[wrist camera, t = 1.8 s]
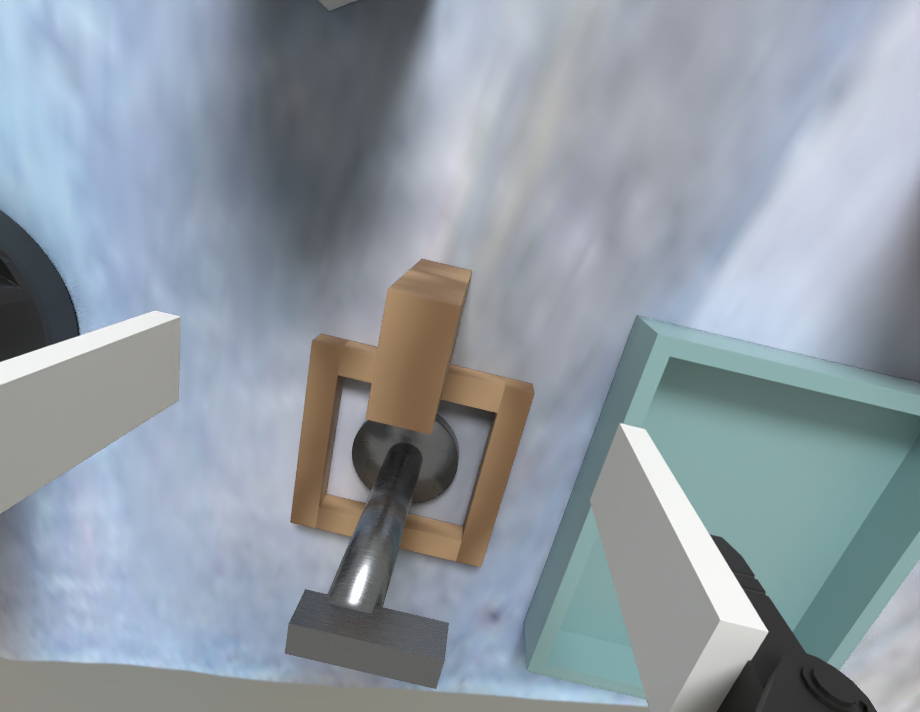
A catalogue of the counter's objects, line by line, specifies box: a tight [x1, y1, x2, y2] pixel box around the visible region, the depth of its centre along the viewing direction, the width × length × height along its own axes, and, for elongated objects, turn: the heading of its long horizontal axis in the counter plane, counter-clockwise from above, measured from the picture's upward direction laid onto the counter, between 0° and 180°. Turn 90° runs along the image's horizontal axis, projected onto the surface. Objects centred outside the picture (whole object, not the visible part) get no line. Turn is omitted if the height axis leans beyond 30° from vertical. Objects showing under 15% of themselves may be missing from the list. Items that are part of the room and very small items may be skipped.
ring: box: [290, 259, 534, 567], centre depth 26 cm, size 14×20×9 cm
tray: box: [524, 315, 920, 699], centre depth 30 cm, size 19×25×4 cm
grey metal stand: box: [285, 414, 459, 689], centre depth 25 cm, size 8×7×15 cm
